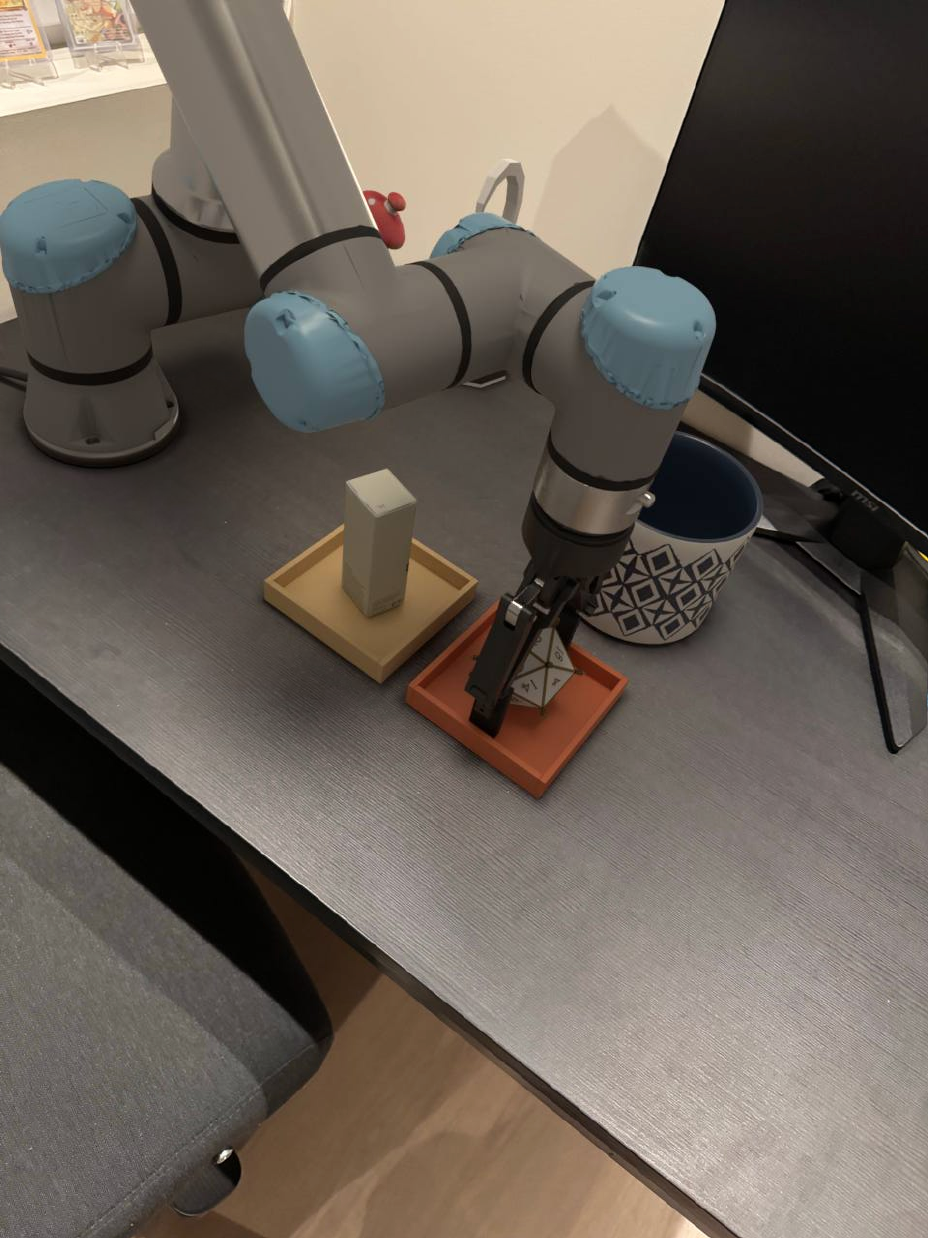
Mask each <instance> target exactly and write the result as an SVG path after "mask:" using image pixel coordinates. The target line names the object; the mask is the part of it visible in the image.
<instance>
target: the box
mask: <svg viewBox="0 0 928 1238" xmlns="http://www.w3.org/2000/svg"><path fill="white" fill-rule="evenodd" d="M417 505H418V502H417V499H416V498H415V497H414V496H413V494H412V493H411V492H410V490H408V488H406V486H404V484H403V483H402V482H401V481H400V480H399V479H398V478H397V476H396V475H394V474H393V473H392V471H391V470H390V469H388V468H384V469H381V470H378V471H375V472H371V473H368V474H365V475H361V476H358V477H355V478H352V479H349V480H346V481H345V496H344V518H343V519H344V521H343V524H344V539H343V563H342V586H343V588H344V589H345V591H346V592H347V593H348V595H349V596H350V597H351V599H352V600H353V601H354V602H355V604H356V605H357V606H358V607H359V609H360V610H361V611H362V612H363V614H364V615H365V616H366V617H368V618H369V617H371V616H373V615H376V614H378V613H381V612H383V611H385V610H388V609H390V608H392V607H395V606H397V605H399V604H401V603H403V602H404V599H405V592H406V584H407V575H408V567H409V559H410V552H411V543H412V538H413V536H414V527H415V521H416V520H415V518H416V511H417Z"/></svg>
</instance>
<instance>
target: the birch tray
mask: <svg viewBox="0 0 928 1238" xmlns="http://www.w3.org/2000/svg"><path fill="white" fill-rule="evenodd" d="M343 539H344V523H343V524H341V525H340V526H338V527H337V528H335V529H334V530H333V531H331V532H330V533H328V534H327V535H326V536H324V537H323V538H322V539H319V541H317V542H316V543H314V544H313V545H311V546H310V547H309V548H307V549H305V551H303V552H302V553H300V554H299V555H298V556H296V557H295V558H293V559H292V560H290V561H289V562H287V563H286V564H284V565H283V566H282V567H280V568H279V569H278V570H276V571H274V572H273V573H272V574H271V575H270V576H268V577H266V578H265V579H264V580H263V599H264V600H265V601H266V602H267V603H269V604H270V605H272V606H273V607H275V608H276V609H277V610H279V611H280V612H281V613H283V614H284V615H285V616H287V617H288V618H290V619H291V620H292V621H293V622H295V623H296V624H298V625H299V626H300V627H302V628H303V629H305V630H306V631H307V632H308V633H310V634H311V635H312V636H314V637H316V638H317V639H318V640H320V641H321V642H322V643H324V644H325V645H326V646H328V647H329V648H331V649H332V650H334V651H335V652H336V653H337V654H339V656H341V657H343V658H344V659H345V660H347V661H348V662H350V663H351V664H352V665H354V666H355V667H357V669H359V670H361V671H362V672H363V673H364V674H366V675H367V676H369V677H370V678H371V679H373V680H374V681H376V682H377V683H378V684H382V683H383V682H384V681H386V679H388V677H390V676H391V675H392V674H393V673H394V672H396V670H398V669H399V668H400V667H401V666H402V665H403V664H404V663H406V661H407V660H409V659H410V658H411V657H412V656H413V655H414V654H415V653H416V652H417V651H418V650H419V649H421V648H422V647H423V646H424V645H425V644H426V643H427V642H428V641H429V640H431V639H432V638H433V637H434V636H435V635H436V634H437V633H438V632H439V631H441V629H443V628H444V627H445V626H446V625H447V624H448V623H450V621H451V620H453V618H454V617H456V616H457V615H458V614H459V613H460V612H461V611H462V610H464V609H465V608H466V607H467V606H468V605H469V604H470V603H471V602H472V601H473V600H474V599H475V597H476V593H477V589H478V584H479V580H478V579H477V578H475V577H473V576H472V575H471V574H469V573H468V572H466V571H464V570H463V569H461V568H460V567H459V566H457V565H455V564H454V563H452V562H451V561H449V560H448V559H446V558H444V557H443V556H442V555H440V554H438V553H437V552H435V551H434V550H432V549H431V548H429V547H428V546H426V545H425V544H423V543H422V542H420V541H419V540H417V539H416V538H414V537H412V543H411V552H410V559H409V567H408V575H407V584H406V592H405V599H404V602H403V603H401V604H399V605H397V606H395V607H392V608H390V609H388V610H385V611H383V612H381V613H378V614H376V615H373V616H371V617H369V618H368V617H366V616H365V615H364V614H363V612H362V611H361V610H360V609H359V607H358V606H357V605H356V604H355V602H354V601H353V600H352V599H351V597H350V596H349V595H348V593H347V592H346V591H345V589H344V588H343V586H342V563H343Z"/></svg>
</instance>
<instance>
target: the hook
mask: <svg viewBox="0 0 928 1238" xmlns="http://www.w3.org/2000/svg"><path fill="white" fill-rule="evenodd" d="M505 179H506V183H507V184H506V195H505V203H504V207H503V210H502V214H501V217H502V218H504V219H506V220H508V221H509V222H511V223H513V224H515V225H517V223H518V219H519V215H520V211H521V208H522V203H523V199H524V197H523V196H524V188H525V179H526V177H525V173H524V171H523V166H522V163H521V162H520V161H517V160H515V159H511V158H499V159H497V161H496V162H495V164H494V165H493V167H492V168H491V170H490V171H489V172H488V174H487V175H486V177H485V180H484V183H483V185H482V188H481V190H480V193H479V195H478V198H477V200H476V203H475V205H476V206H475V211H474V213H479V212H485V210H486V207H487V205H488V204H489V202H490V200H491V198H492V196H493V195H494V192H495V191H496V189H497V187H498V186H499V185H500V184H501V183H502V182H503V181H504V180H505ZM506 376H507V370H501V371H498V372H495V373H492V374H489V375H487V376H484V377H481V378H478V379H475V380H472V381H470V382H467V383H464V384H462V386H463V385H465V386H467V387H475V388H480V389H481V388H484V387H487V386H490V385H492V384H495V383H499V382H501V381H504V380H506Z"/></svg>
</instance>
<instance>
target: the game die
mask: <svg viewBox="0 0 928 1238" xmlns="http://www.w3.org/2000/svg"><path fill="white" fill-rule="evenodd" d="M559 623H560V617H559V618H557V619H556V621H555V623H554V624H553V625H552V626H550V627H548V628H546V629H543V631H542V632H541V634H540V636H539V638H538V640H537V641H536V643H535V645H534V647H533V648H532V650H531V652H530V654H529V655H528V657H527V659H526V661H525V663H524V664H523V666H522V668H521V670H520V671H519V673H518V675H517V677H516V679H515V680H514V682H513V684H512V686H511V687H513V688H514V692H513V695H512V697H511V700H510V703H509V705H515V706H523V707H530V708H537V709H541V712H540V713H541V715H542V716H544V717H545V718H546V717H547V714H548V713H547V712H546V710H545V707H546V706H547V705H548V704H549V702H550V701H551V700H552V699H553V698H554V697H555V696H556V694H557V693H558V692H559V691H560V690H561V689H562V688H563V687H564V685H565V684H566V683H567V682H568V681H569V680H570V679H571V678H572V676H573V675H574V674H578V675H583V674H586V673H585V672H584V671H583V670H576V669H575V667H574V665H573V663H572V661H571V659H570V657H569V655H568V653H567V651H566V648H565V646H564V644H563V642H562V640H561V638H560V636H559V634H558V632H557V629H556V626H558V624H559ZM470 658H472V659H473V660H476V661H477V659H478V655H475V654H474V655H473V656H471V657H470Z"/></svg>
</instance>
